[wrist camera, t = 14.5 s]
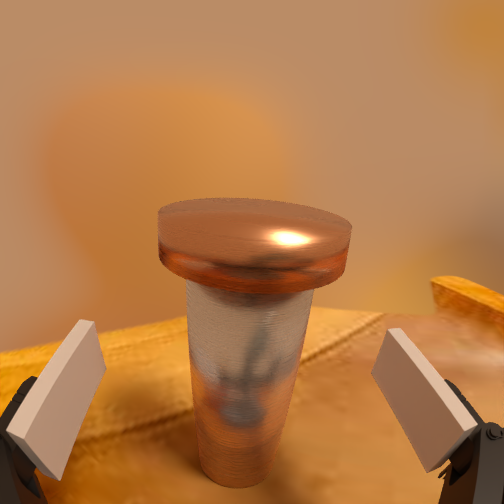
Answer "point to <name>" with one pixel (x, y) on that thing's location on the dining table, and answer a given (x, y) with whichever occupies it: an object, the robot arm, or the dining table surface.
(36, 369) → the dining table surface
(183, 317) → the dining table surface
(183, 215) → the round flanged pin
